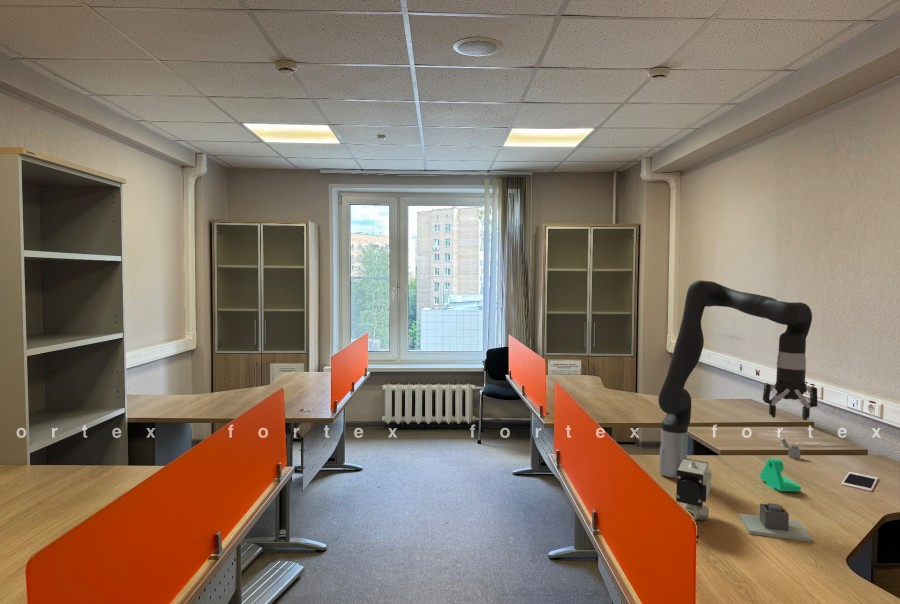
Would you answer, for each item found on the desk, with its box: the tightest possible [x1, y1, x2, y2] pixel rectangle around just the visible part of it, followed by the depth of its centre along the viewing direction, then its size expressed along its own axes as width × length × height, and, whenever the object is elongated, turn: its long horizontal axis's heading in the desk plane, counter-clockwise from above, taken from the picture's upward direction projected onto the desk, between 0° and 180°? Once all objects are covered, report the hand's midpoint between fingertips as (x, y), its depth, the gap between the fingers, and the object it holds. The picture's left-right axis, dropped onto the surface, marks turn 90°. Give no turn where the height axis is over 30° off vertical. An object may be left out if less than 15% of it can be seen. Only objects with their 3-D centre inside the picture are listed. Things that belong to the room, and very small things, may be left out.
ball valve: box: [675, 458, 712, 521], centre depth 165 cm, size 18×8×18 cm, turn 148°
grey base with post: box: [739, 502, 813, 543], centre depth 159 cm, size 16×12×7 cm
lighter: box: [780, 437, 801, 460], centre depth 224 cm, size 7×2×8 cm, turn 59°
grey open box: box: [759, 503, 790, 531], centre depth 159 cm, size 6×6×5 cm
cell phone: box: [840, 471, 879, 493], centre depth 198 cm, size 9×18×1 cm, turn 135°
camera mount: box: [759, 458, 802, 492], centre depth 191 cm, size 12×8×10 cm, turn 0°
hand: (788, 418), depth 165 cm, fingers open, 8 cm apart
